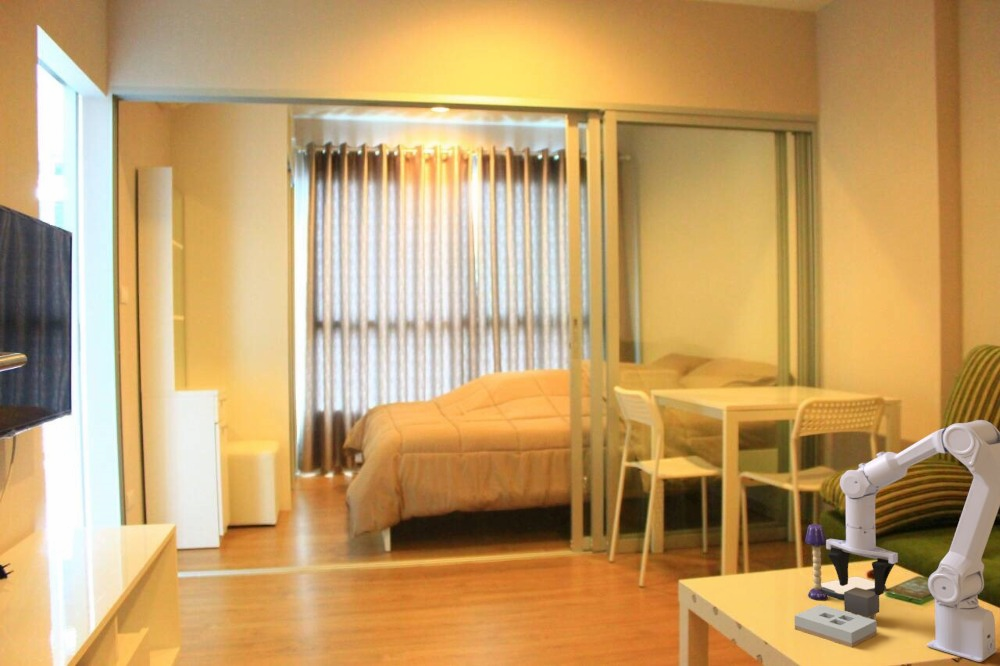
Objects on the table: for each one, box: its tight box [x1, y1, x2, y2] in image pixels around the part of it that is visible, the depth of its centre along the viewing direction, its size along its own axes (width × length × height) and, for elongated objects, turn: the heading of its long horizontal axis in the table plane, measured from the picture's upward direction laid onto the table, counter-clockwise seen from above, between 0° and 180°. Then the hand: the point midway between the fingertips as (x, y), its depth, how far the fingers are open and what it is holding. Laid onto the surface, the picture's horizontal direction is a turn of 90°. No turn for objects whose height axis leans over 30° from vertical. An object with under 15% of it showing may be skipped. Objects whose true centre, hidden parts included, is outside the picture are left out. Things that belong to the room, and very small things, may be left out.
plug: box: [843, 587, 880, 620], centre depth 161 cm, size 5×5×6 cm
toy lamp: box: [804, 523, 829, 601], centre depth 174 cm, size 5×5×17 cm
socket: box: [794, 604, 878, 648], centre depth 154 cm, size 12×10×3 cm
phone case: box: [821, 576, 887, 601], centre depth 179 cm, size 9×2×16 cm
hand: (861, 589), depth 161 cm, fingers open, 7 cm apart
